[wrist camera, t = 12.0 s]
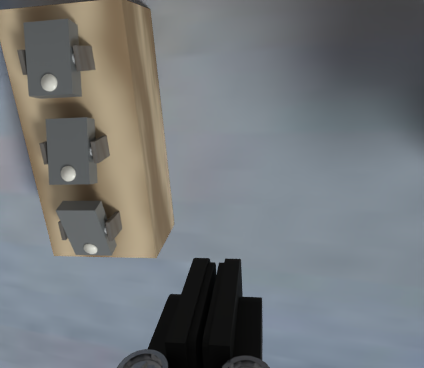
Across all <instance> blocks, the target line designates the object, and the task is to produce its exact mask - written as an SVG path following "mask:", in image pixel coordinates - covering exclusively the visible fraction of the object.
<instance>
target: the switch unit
mask: <svg viewBox="0 0 424 368" xmlns="http://www.w3.org/2000/svg"><path fill="white" fill-rule="evenodd" d="M57 19H69V20H71V21H72V22H74V23H75V24H77V25H78V38H79V45H76V46H73V51H74V57H75V62H76V68H77V71H80V72H81V88H82V97H65V98H46V99H39V98H34V97H30V96H29V93H28V79H27V66H26V52H25V38H24V25H23V23H24V22H35V21H46V20H57ZM0 42H1V46H2V50H3V54H4V58H5V62H6V66H7V70H8V74H9V78H10V82H11V86H12V90H13V94H14V98H15V102H16V106H17V110H18V114H19V118H20V122H21V126H22V130H23V134H24V138H25V142H26V146H27V150H28V154H29V158H30V162H31V166H32V170H33V174H34V178H35V182H36V186H37V190H38V194H39V198H40V202H41V206H42V210H43V214H44V218H45V222H46V226H47V230H48V234H49V238H50V242H51V246H52V250H53V254H54V256H85V257H130V258H157V256H158V254H159V252H160V250H161V249H162V247H163V245H164V243H165V241H166V239H167V237H168V235H169V233H170V232H171V230H172V228H173V226H174V217H173V208H172V199H171V190H170V181H169V172H168V163H167V154H166V145H165V136H164V127H163V118H162V109H161V100H160V91H159V82H158V73H157V64H156V55H155V47H154V38H153V29H152V20H151V11H150V9H148V8H146V7H143V6H141V5H138V4H135V3H133V2H130V1H127V0H97V1H86V2H76V3H66V4H56V5H45V6H35V7H25V8H15V9H4V10H0ZM81 117H88V118H92V119H95V137H96V139H95V140H93V141H91V142H90V143H91V148H92V154H93V159H94V163H97V180H98V183H95V184H76V185H49V172H48V155H47V137H46V119H57V118H81ZM62 201H101V202H102V205H103V207H104V210H105V213H106V216H107V219H108V220H107V221H106V223H105V224H106V229H107V234H108V240H109V241H113V240H114V239H115V242H116V244H117V246H116V248H115V250H114V252H113V254H112V256H103V255H76V254H75V252H74V250H73V248H72V246H71V243H70V241H69V239H68V237H67V235H66V232H65V230H64V228H63V226H62V224H61V221H60V219H59V217H58V215H57V213H56V209H57V208H58V207H59V205H60V204H61V203H62Z"/></svg>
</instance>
